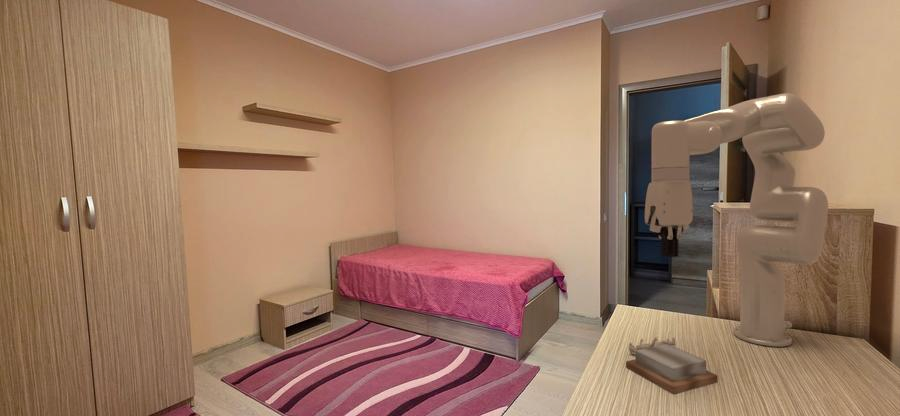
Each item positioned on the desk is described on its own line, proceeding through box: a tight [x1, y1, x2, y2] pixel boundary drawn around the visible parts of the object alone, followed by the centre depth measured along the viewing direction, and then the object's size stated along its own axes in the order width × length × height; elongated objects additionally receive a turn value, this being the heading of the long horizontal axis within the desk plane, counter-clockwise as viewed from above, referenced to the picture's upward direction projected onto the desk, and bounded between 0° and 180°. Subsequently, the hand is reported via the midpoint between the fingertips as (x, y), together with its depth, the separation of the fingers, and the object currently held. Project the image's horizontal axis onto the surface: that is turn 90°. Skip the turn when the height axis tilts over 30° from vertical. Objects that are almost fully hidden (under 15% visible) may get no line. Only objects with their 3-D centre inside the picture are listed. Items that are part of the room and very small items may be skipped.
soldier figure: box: [628, 336, 676, 354], centre depth 99 cm, size 8×5×12 cm
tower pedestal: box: [625, 344, 718, 395], centre depth 88 cm, size 13×13×4 cm
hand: (669, 255), depth 87 cm, fingers closed
